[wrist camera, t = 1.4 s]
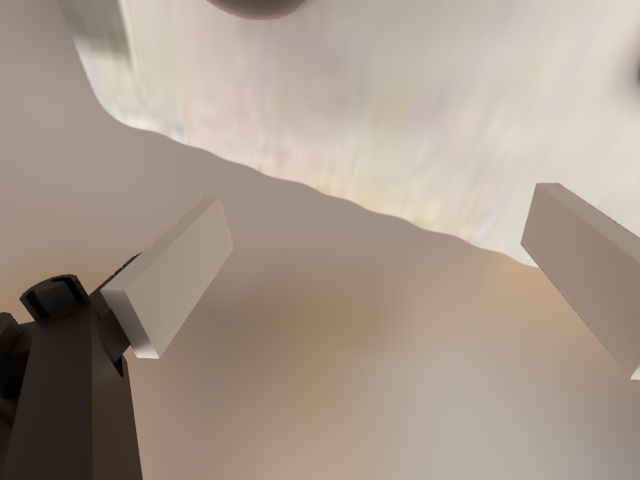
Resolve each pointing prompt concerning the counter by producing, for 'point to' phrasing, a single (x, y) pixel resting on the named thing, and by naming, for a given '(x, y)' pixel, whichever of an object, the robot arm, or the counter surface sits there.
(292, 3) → the pump dispenser
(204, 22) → the counter surface
